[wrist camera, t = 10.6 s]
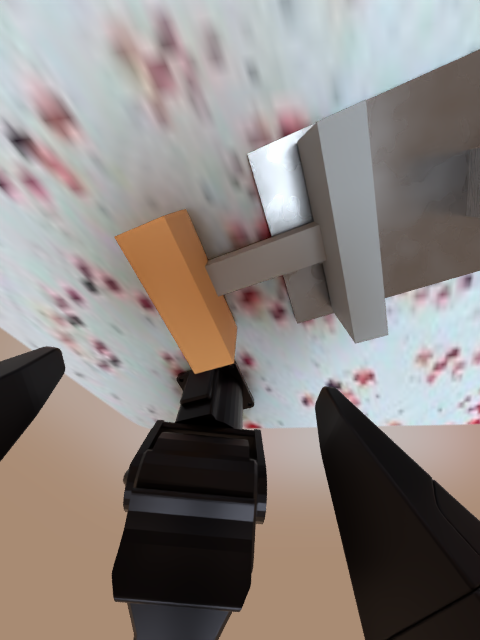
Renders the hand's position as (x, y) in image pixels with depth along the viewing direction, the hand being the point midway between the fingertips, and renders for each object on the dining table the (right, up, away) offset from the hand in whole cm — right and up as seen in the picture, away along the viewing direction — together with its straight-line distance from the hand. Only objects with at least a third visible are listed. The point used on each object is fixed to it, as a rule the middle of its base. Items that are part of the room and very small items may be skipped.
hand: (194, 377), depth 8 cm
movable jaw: (+3, +6, +10) cm, 12 cm away
